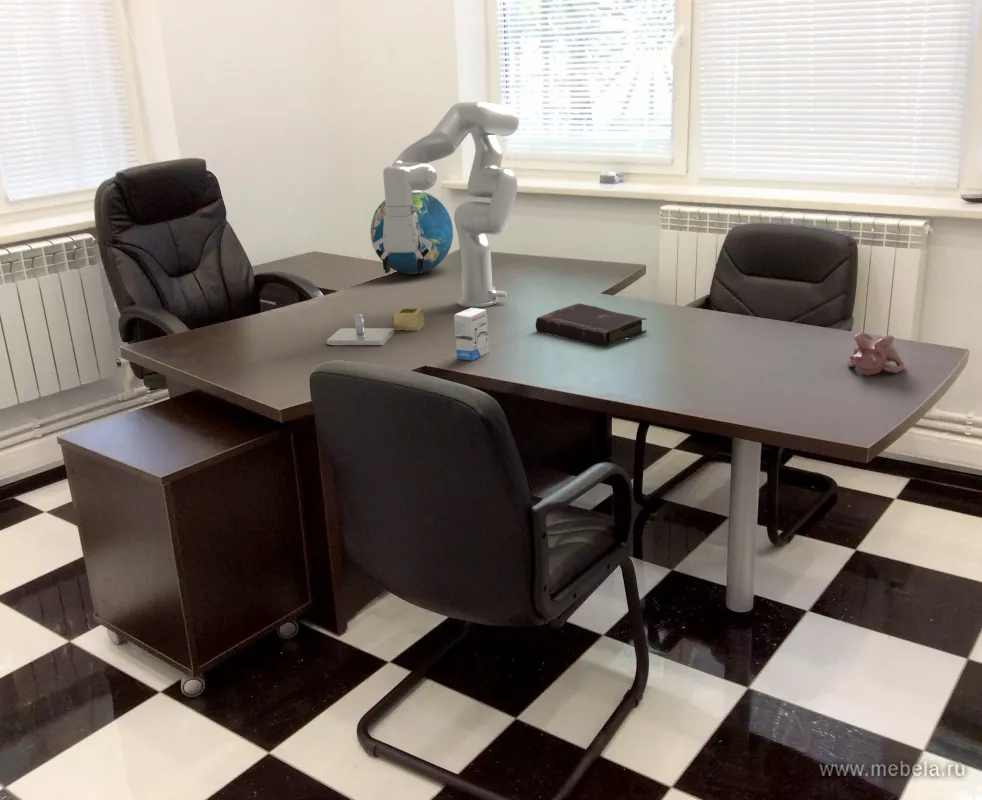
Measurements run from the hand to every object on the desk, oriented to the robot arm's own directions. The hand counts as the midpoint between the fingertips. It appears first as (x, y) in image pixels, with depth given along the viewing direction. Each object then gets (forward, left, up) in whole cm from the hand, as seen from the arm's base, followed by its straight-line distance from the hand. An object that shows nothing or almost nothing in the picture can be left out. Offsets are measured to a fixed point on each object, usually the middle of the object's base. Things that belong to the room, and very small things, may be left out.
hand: (404, 272), depth 266 cm
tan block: (0, 0, -16) cm, 16 cm away
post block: (+11, +12, -16) cm, 23 cm away
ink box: (-24, +27, -17) cm, 40 cm away
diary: (-53, +5, -17) cm, 56 cm away
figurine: (-120, +37, -17) cm, 127 cm away
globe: (+17, -73, -17) cm, 77 cm away
